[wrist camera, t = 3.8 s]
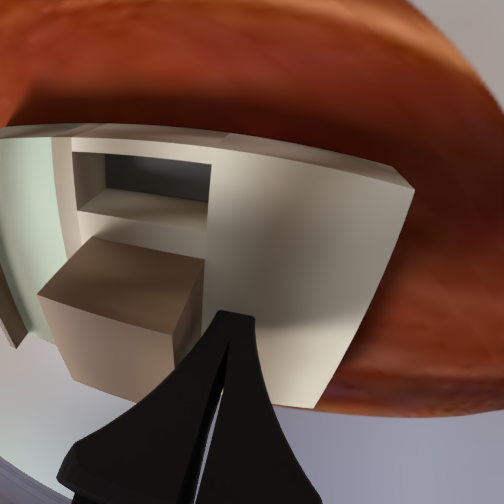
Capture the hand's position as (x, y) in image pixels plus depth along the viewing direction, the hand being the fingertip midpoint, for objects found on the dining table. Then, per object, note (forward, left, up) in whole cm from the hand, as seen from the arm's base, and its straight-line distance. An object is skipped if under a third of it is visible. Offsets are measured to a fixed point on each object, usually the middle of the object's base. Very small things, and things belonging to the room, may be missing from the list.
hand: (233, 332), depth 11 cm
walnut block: (+4, 0, -1) cm, 4 cm away
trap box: (+4, 0, -3) cm, 6 cm away
